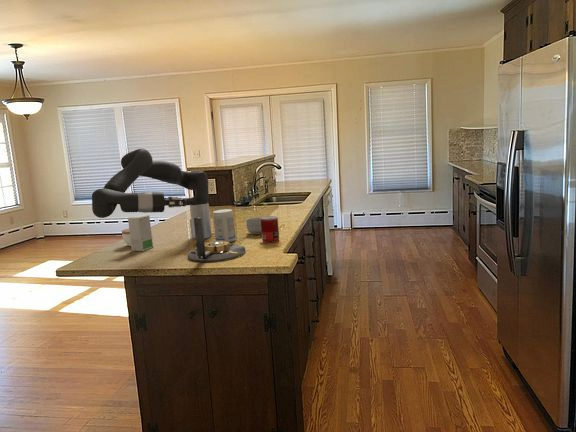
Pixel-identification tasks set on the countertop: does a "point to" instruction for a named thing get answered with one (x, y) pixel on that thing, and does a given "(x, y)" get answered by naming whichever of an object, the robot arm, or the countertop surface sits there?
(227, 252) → the flange plate
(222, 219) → the supplement tub
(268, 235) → the canned food
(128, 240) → the lidded jar
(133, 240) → the skincare box
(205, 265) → the countertop surface
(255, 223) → the teacup
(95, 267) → the countertop surface
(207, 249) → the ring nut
